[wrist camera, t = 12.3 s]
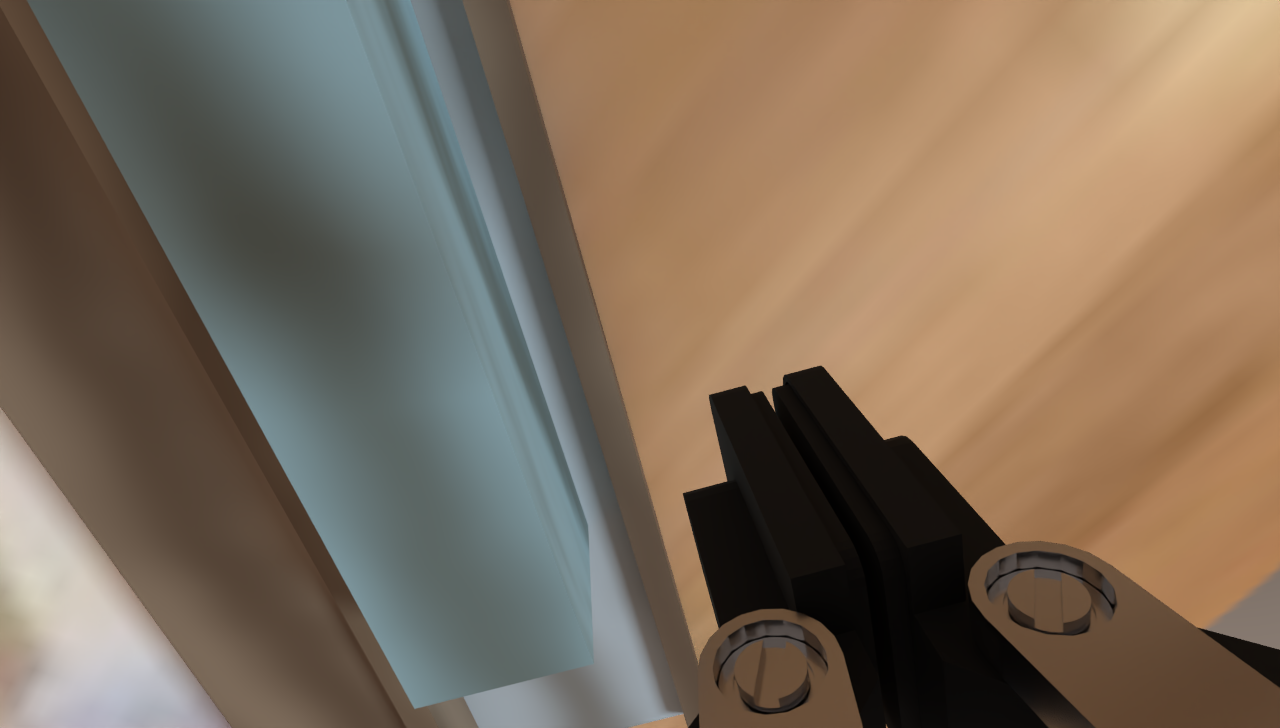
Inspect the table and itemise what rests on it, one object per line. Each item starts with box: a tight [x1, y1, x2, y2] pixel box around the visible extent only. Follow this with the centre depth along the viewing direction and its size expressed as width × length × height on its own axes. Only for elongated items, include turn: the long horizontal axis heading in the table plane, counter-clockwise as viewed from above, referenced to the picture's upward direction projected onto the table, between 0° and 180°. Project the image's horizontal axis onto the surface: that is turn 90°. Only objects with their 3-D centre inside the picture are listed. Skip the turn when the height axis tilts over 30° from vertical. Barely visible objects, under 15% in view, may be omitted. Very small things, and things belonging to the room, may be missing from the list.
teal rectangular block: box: [27, 0, 594, 709], centre depth 18 cm, size 5×18×6 cm, turn 14°
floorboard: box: [0, 0, 699, 728], centre depth 20 cm, size 16×38×3 cm, turn 14°
